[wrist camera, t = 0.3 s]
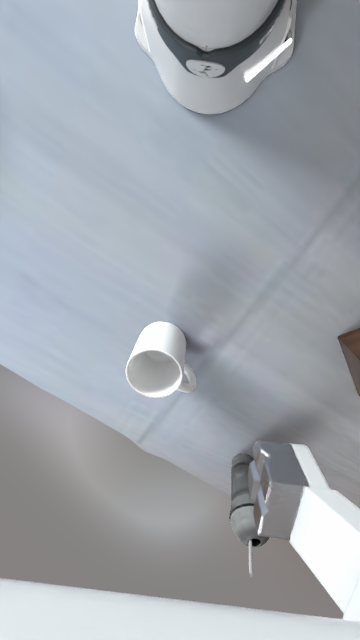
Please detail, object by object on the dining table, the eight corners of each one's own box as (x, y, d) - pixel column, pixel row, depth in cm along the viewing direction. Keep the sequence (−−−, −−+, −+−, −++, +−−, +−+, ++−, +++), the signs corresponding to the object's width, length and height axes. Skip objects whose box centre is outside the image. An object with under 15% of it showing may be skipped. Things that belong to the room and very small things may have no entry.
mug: (212, 354, 52) (213, 389, 43) (180, 382, 55) (175, 421, 45) (160, 310, 50) (149, 337, 40) (130, 342, 52) (114, 374, 43)
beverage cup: (255, 477, 63) (276, 594, 44) (221, 471, 63) (229, 585, 44) (264, 452, 60) (291, 566, 41) (229, 446, 60) (240, 557, 42)
